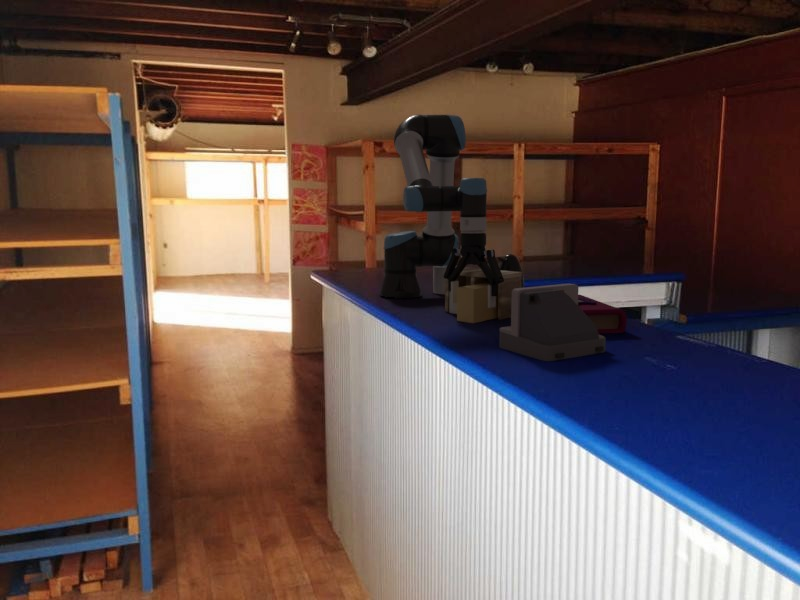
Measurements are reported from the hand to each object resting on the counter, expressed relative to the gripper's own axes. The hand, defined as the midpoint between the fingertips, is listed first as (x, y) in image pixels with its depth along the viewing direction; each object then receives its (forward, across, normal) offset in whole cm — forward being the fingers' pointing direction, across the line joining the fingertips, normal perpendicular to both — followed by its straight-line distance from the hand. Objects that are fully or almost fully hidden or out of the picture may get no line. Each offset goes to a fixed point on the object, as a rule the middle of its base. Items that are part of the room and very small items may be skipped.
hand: (472, 305), depth 201 cm
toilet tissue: (+4, -42, +40) cm, 59 cm away
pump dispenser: (+4, -20, +48) cm, 53 cm away
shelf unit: (+4, -5, +11) cm, 13 cm away
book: (+5, +24, +12) cm, 28 cm away
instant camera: (+6, +38, -18) cm, 42 cm away
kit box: (+5, 0, +6) cm, 7 cm away
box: (+4, -10, +10) cm, 15 cm away
